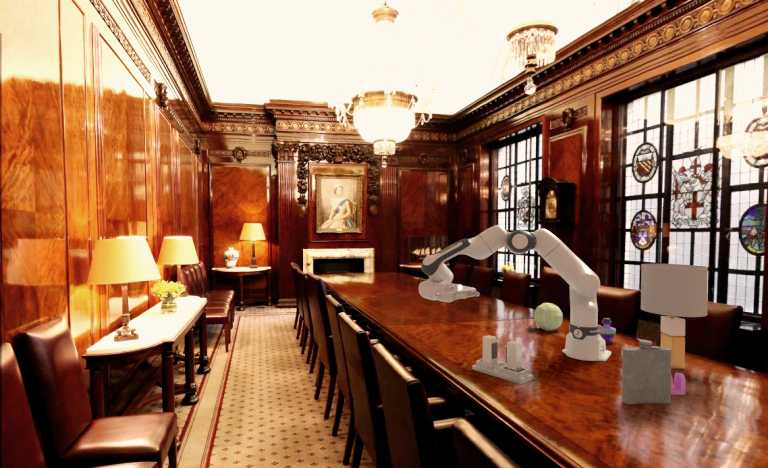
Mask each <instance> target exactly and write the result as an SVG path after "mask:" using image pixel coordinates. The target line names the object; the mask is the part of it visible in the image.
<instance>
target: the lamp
mask: <svg viewBox="0 0 768 468" xmlns="http://www.w3.org/2000/svg"><path fill="white" fill-rule="evenodd" d="M708 269H709V267H708V266H705V265H692V264H682V263H681V264H679V263H642V264H641V273H640V274H641V277H640V279H641V281H640V310H642V311H644V312H647V313H651V314H657V315H660V347H665V348H670V349H671V370H672V369H678V370H679V369H680V370H681V369H683V370H684V369H685V366H686V365H685V363H686V361H685V360H686V337H685V336H686V319H685V318H700V317H701V318H702V317H706V316H708V272H709V271H708ZM681 317H683V318H681Z"/></svg>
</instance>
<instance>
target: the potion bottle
mask: <svg viewBox="0 0 768 468" xmlns="http://www.w3.org/2000/svg"><path fill="white" fill-rule="evenodd" d="M612 322H613V321H612V320H611V318H609V317H604V318H603V319H602V320H601V324H603V326H602V325H601V329H600V330H599V332H600V333H599V335H600V336H601V337H602V338H603V339H604V340H605V343H606V344H613V342H614V339H615V338H616V337H617V336H616V335H617V333H616V332H617V329H616V327H612V326H611V325H612Z"/></svg>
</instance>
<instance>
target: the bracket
mask: <svg viewBox="0 0 768 468" xmlns="http://www.w3.org/2000/svg"><path fill="white" fill-rule="evenodd" d="M673 378H674V379H673ZM671 395H677V396H678V395H679V396H682V395H683V396H685V395H686V377H685V374H684V373H682V372H675V373H674V377H673V375H672V374H671Z"/></svg>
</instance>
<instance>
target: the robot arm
mask: <svg viewBox="0 0 768 468" xmlns="http://www.w3.org/2000/svg"><path fill="white" fill-rule="evenodd" d="M503 248H505V249H507V250H508V251H509V252H510V253H513V254H516V255H522V254H526V253H527V252H529V251H531V250H532V251H534V252H536V253H537V254H538V255H540V257H541V258H542V259H543V260H544V261H545V262H546V263H547V264H548V265H549V266H551V268H552V269H553V270H555V271H556V273H557V274H558V275H559V276H560V277H561V278H562V279H563V280H564V281H565V282H566V283H567V284H568V285H569V287H568V288H569V306H570V313H569V314H570V315H569V317H570V319H569V321H570V323H569V324H568V333H567V334H566V336H565V347H564V349H562V353H564V354H565V355H566V356H567V357H568V358H572V359H576V360H580V361H589V362H590V361H591V362H606V361H608V359H609V358H610V356H611V355H612V351H611V350H608V349H607V347H606V344H607V343H605V340H604V339H603V338H602V337H601V336H600V335H599V333H600V332H599V330H600V329H601V326H602V325H601V324H599V323H598V321H599V320H598V316H599V315H598V314H599V313H598V312H599V307H598V301H597V300H598V299H597V292H598V291H599V290H600V287H601V281H600V277H599V276H598V275H597V274H596V272H594V271H593V270H592V269H591V268H590V267H589V266H588V265H587V264H586V263H585V262H584V261H583V260H582V259H580V257H578V256H577V255H576V254H575V253H574V252H573V251H572V250H571V249H570V248H569V247H568V246H567V245H566V244H565V243H564V242H563V241H562V240H561V239H560V238H559V237H557V236H556V235H555V234H553V233H552V232H551V231H550V230H548V229H546V228H543V227H542V228H539V229H536V230H535V231H534V232H530V231H527V230H523V229H517V230H514V231H512V232H509V231H507V230H506V228H505V227H503V226H502V225H500V224H496V225H493V226H490V227H489V228H486V229H485V230H484V231H482V232H480V233H479V234H478V235H476V236H474V237H471V238H461V239H460V240H458V241H455V242H453V243H452V244H450V245H448V246H446V247H445V248H443V249H440V250H439V251H437V252H434V253H431V254H429V255H427V256H426V257H424V258H423V259H422V262H421V267H420V268H421V271H422V272H423V273H424V274H425V275H426V276H428V277H429V278H427V279H426V280H424V281H421V282H420V283H419V284H418V293H419V295H420V296H421V297H422V298H424V299H427V300H430V301H439V302H444V303H452V302H454V301H456V300H462V299H463V300H465V299H467V298H472V297H479V296H480V294H481V293H480V292H479V291H477V289H476V288H475V287H471V286H468V285H467V286H466V285H462V284H461V283H453V280H454V273H453V272H452V271H451V269H450V268H449V267H448V266H447V265H446V264H445V262H446V261H449V260H450V259H452V258H454V257H456V256H458V255H466V256H468V257H471V258H473V259H475V260H485V259H487V258H488V257H490V256H491V255H493V254H494V253H496V252H497V251H499V250H500V249H503Z"/></svg>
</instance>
